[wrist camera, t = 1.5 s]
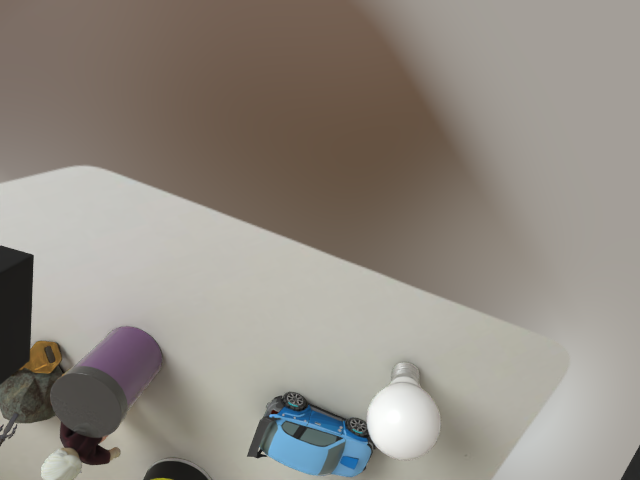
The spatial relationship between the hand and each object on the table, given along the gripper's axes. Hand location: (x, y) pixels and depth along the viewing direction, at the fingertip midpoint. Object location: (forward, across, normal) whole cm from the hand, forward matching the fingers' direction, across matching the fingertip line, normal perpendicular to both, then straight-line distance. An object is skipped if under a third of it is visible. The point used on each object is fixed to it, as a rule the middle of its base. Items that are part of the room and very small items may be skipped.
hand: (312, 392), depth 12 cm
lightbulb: (+39, +8, -22) cm, 45 cm away
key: (+37, -32, -34) cm, 60 cm away
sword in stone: (+39, -32, -38) cm, 63 cm away
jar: (+39, -21, -30) cm, 53 cm away
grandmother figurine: (+39, -22, -36) cm, 58 cm away
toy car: (+39, +1, -32) cm, 50 cm away
